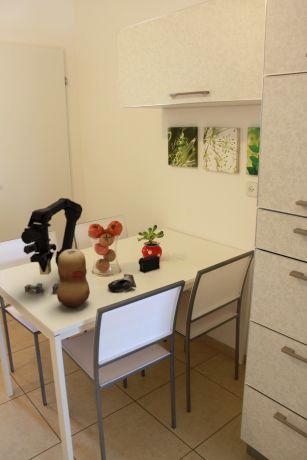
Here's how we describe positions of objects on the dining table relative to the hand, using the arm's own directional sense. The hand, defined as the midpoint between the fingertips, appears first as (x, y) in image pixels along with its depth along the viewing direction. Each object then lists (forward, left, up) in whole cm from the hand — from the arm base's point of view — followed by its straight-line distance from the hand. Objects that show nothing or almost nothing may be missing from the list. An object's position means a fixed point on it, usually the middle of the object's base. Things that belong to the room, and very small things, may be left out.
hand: (45, 270), depth 180 cm
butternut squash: (-15, +15, -11) cm, 24 cm away
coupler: (0, 0, -1) cm, 1 cm away
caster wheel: (-34, 0, -11) cm, 36 cm away
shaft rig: (0, 0, -11) cm, 11 cm away
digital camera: (-48, -26, -11) cm, 56 cm away
